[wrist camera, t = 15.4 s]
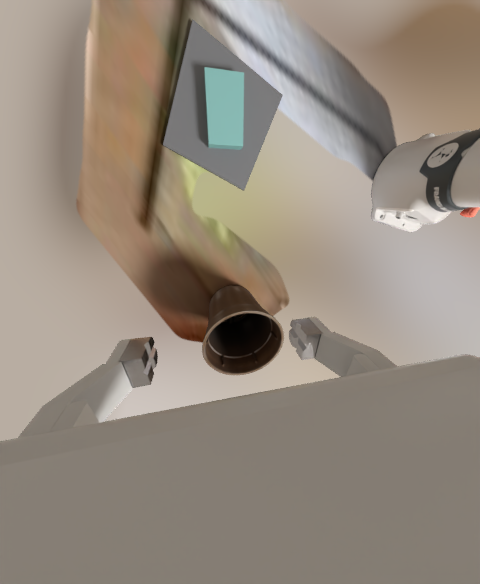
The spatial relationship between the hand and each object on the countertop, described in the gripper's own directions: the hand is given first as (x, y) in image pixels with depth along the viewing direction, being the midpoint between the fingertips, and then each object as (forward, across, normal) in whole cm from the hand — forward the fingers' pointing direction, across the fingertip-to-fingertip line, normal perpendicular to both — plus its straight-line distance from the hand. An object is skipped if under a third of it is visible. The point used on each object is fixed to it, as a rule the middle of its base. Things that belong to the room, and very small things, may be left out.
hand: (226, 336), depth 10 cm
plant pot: (+33, -5, +18) cm, 38 cm away
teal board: (+31, -4, -16) cm, 36 cm away
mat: (+33, -4, -20) cm, 39 cm away
